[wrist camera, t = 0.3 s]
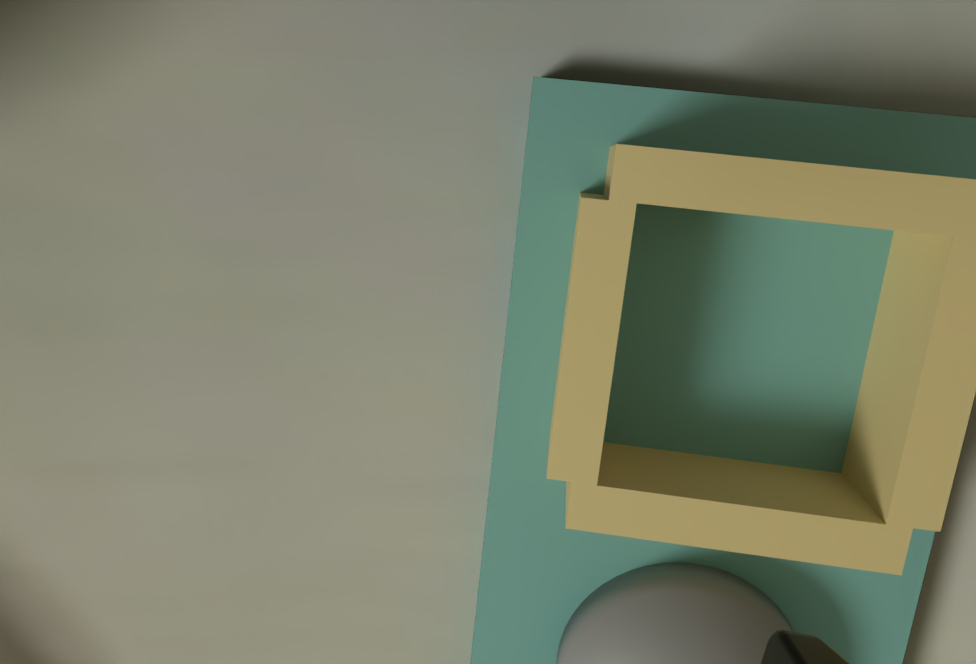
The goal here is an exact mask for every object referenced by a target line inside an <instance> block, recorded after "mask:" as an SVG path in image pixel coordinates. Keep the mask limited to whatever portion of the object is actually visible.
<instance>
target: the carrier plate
mask: <svg viewBox="0 0 976 664" xmlns="http://www.w3.org/2000/svg"><path fill="white" fill-rule="evenodd" d="M975 393H976V118H972V117H961V116H950V115H939V114H929V113H918V112H907V111H896V110H886V109H875V108H864V107H853V106H843V105H832V104H821V103H811V102H800V101H789V100H778V99H768V98H757V97H746V96H735V95H725V94H714V93H703V92H692V91H682V90H671V89H660V88H649V87H639V86H628V85H617V84H606V83H596V82H585V81H574V80H563V79H553V78H542V77H533V85H532V94H531V103H530V113H529V122H528V131H527V141H526V150H525V159H524V169H523V178H522V187H521V196H520V206H519V215H518V224H517V234H516V243H515V252H514V262H513V271H512V280H511V290H510V299H509V308H508V318H507V327H506V336H505V346H504V355H503V364H502V374H501V383H500V392H499V402H498V411H497V420H496V430H495V439H494V448H493V458H492V467H491V476H490V486H489V495H488V504H487V514H486V523H485V532H484V542H483V551H482V560H481V570H480V579H479V588H478V598H477V607H476V616H475V626H474V635H473V644H472V654H471V663H470V664H760V663H761V660H762V657H763V654H764V651H765V648H766V645H767V642H768V639H769V638H770V636H771V635H772V633H773V632H775V631H777V630H786V631H792V632H798V633H803V634H809V635H813V636H816V637H818V638H820V639H821V640H822V641H823V642H825V643H826V644H827V645H828V646H829V647H830V648H832V649H833V650H834V651H835V652H836V653H838V654H839V655H840V656H841V657H842V658H843V659H845V660H846V661H847V662H848V663H849V664H902V663H903V659H904V655H905V651H906V647H907V643H908V639H909V635H910V631H911V627H912V623H913V619H914V615H915V611H916V607H917V603H918V599H919V595H920V591H921V587H922V583H923V579H924V575H925V571H926V567H927V563H928V559H929V555H930V551H931V547H932V543H933V539H934V535H935V531H937V532H941V528H942V524H943V520H944V516H945V512H946V508H947V504H948V500H949V496H950V492H951V488H952V484H953V480H954V476H955V472H956V468H957V464H958V460H959V456H960V452H961V448H962V444H963V440H964V436H965V432H966V429H967V425H968V421H969V417H970V413H971V409H972V405H973V401H974V397H975Z"/></svg>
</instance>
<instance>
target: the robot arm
mask: <svg viewBox="0 0 976 664" xmlns="http://www.w3.org/2000/svg"><path fill="white" fill-rule="evenodd" d="M760 664H849V663H848V662H847V661H846V660H845V659H843V658H842V657H841V656H840V655H839V654H838V653H836V652H835V651H834V650H833V649H832V648H830V647H829V646H828V645H827V644H826V643H825V642H823V641H822V640H821V639H820V638H818V637H816V636H813V635H809V634H803V633H798V632H792V631H786V630H777V631H775V632H773V633H772V635H771V636H770V638H769V639H768V642H767V645H766V648H765V651H764V654H763V657H762V660H761V663H760Z"/></svg>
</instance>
